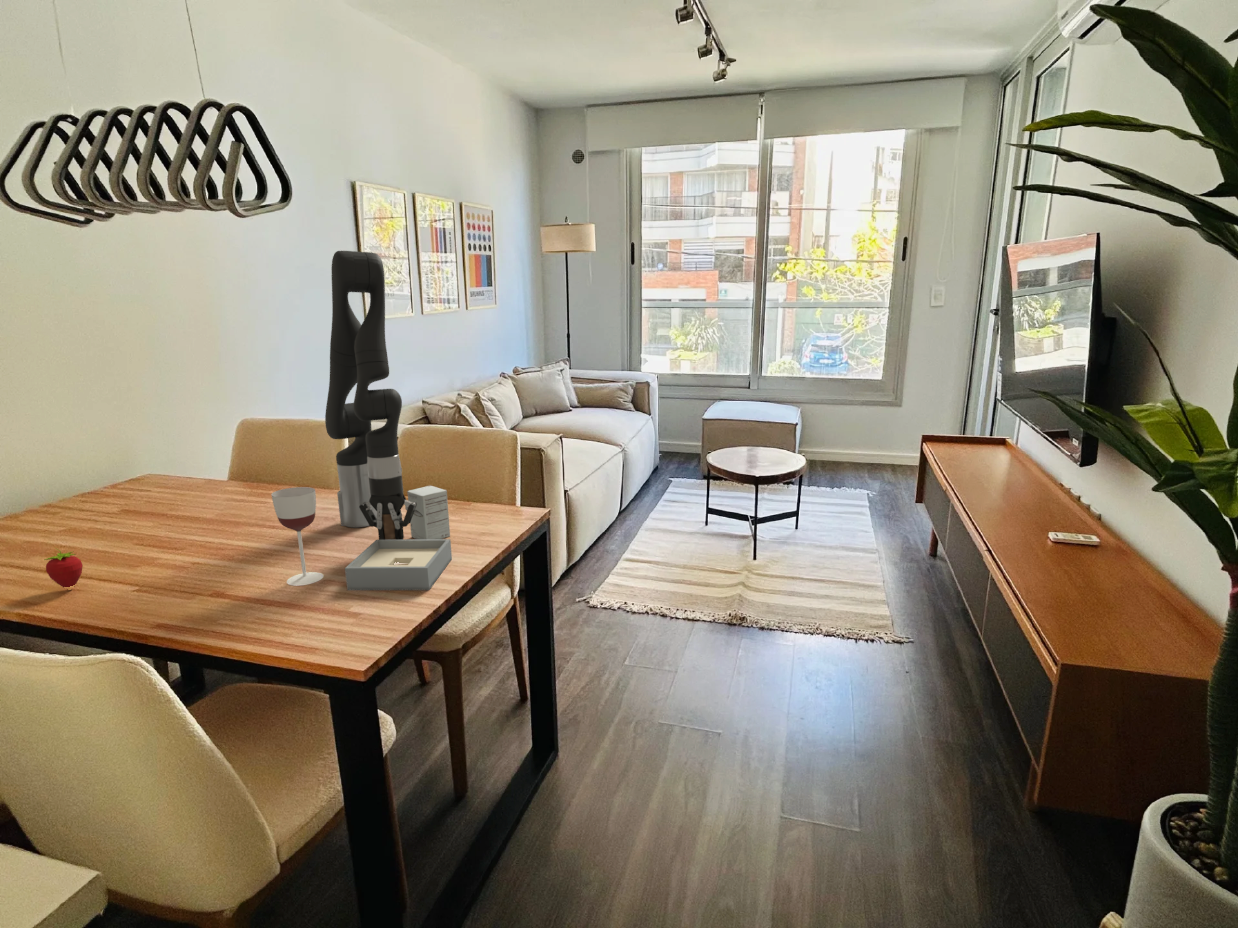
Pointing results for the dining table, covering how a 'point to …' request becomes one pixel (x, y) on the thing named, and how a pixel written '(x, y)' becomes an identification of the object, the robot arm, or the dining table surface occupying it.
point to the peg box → (382, 574)
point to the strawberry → (64, 569)
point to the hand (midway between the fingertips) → (391, 542)
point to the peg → (389, 527)
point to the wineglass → (297, 522)
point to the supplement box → (429, 513)
